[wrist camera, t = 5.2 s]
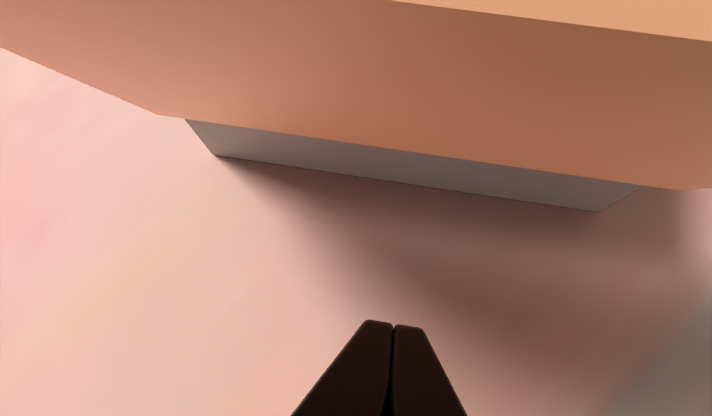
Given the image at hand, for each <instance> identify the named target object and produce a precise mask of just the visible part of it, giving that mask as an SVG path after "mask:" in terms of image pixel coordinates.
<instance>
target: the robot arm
mask: <svg viewBox="0 0 712 416" xmlns="http://www.w3.org/2000/svg"><path fill="white" fill-rule="evenodd" d="M291 416H467V414H466V412H465V410H464V408H463V406H462V404H461V402H460V400H459V398H458V396H457V395H456V393H455V391H454V389H453V387H452V385H451V383H450V381H449V379H448V377H447V375H446V373H445V371H444V369H443V367H442V365H441V364H440V362H439V360H438V358H437V356H436V354H435V352H434V350H433V348H432V346H431V344H430V342H429V340H428V338H427V336H426V334H425V333H424V331H423V330H422V329H421V328H418V327H412V326H406V325H400V324H399V325H396V326H395V327H394V329H393V326H392V324H391V323H388V322H382V321H376V320H366V321H365V322H363V324H362V325H361V326H360V327H359V329H358V330H357V331H356V332H355V334H354V335H353V336H352V338H351V339H350V340H349V341H348V343H347V344H346V345H345V347H344V348H343V349H342V350H341V352H340V353H339V354H338V356H337V357H336V358H335V359H334V361H333V362H332V363H331V364H330V366H329V367H328V368H327V370H326V371H325V372H324V373H323V375H322V376H321V377H320V379H319V380H318V381H317V382H316V384H315V385H314V386H313V388H312V389H311V390H310V391H309V393H308V394H307V395H306V397H305V398H304V399H303V400H302V402H301V403H300V404H299V405H298V407H297V408H296V409H295V411H294V412H293V413H292V414H291Z"/></svg>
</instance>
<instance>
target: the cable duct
mask: <svg viewBox="0 0 712 416" xmlns="http://www.w3.org/2000/svg"><path fill="white" fill-rule="evenodd" d="M185 120H186V121H187V123H188V124H189V125H190V126H191V128H192V129H193V130H194V131H195V133H196V134H197V135H198V137H199V138H200V139H201V140H202V142H203V143H204V144H205V145H206V147H207V148H208V149H209V150H210V152H211V153H212V154H213V155H218V156H225V157H232V158H238V159H245V160H252V161H259V162H265V163H272V164H279V165H285V166H292V167H299V168H305V169H312V170H319V171H325V172H332V173H339V174H346V175H352V176H359V177H366V178H372V179H379V180H386V181H392V182H399V183H406V184H412V185H419V186H426V187H432V188H439V189H446V190H453V191H459V192H466V193H473V194H479V195H486V196H493V197H499V198H506V199H513V200H519V201H526V202H533V203H539V204H546V205H553V206H560V207H566V208H573V209H580V210H586V211H593V212H599V211H601V210H603V209H605V208H606V207H608V206H610V205H612V204H613V203H615V202H617V201H618V200H620V199H622V198H624V197H625V196H627V195H629V194H631V193H632V192H634V191H636V190H637V189H639V188H641V187H643V186H644V185H637V184H630V183H623V182H616V181H609V180H602V179H596V178H589V177H582V176H575V175H568V174H561V173H554V172H547V171H541V170H534V169H527V168H520V167H513V166H506V165H499V164H492V163H486V162H479V161H472V160H465V159H458V158H451V157H444V156H438V155H431V154H424V153H417V152H410V151H403V150H396V149H389V148H383V147H376V146H369V145H362V144H355V143H348V142H341V141H334V140H328V139H321V138H314V137H307V136H300V135H293V134H286V133H280V132H273V131H266V130H259V129H252V128H245V127H238V126H231V125H225V124H218V123H211V122H204V121H197V120H190V119H185Z"/></svg>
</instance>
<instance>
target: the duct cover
mask: <svg viewBox="0 0 712 416" xmlns="http://www.w3.org/2000/svg"><path fill="white" fill-rule="evenodd" d="M0 47H1V48H3V49H6V50H8V51H10V52H13V53H15V54H17V55H20V56H22V57H24V58H27V59H29V60H31V61H34V62H36V63H38V64H41V65H43V66H45V67H48V68H50V69H52V70H55V71H57V72H59V73H62V74H64V75H66V76H69V77H71V78H73V79H76V80H78V81H80V82H83V83H85V84H87V85H90V86H92V87H94V88H97V89H99V90H101V91H104V92H106V93H108V94H111V95H113V96H115V97H118V98H120V99H122V100H125V101H127V102H129V103H132V104H134V105H136V106H139V107H141V108H143V109H146V110H148V111H150V112H153V113H155V114H157V115H163V116H170V117H176V118H183V119H190V120H197V121H204V122H211V123H218V124H225V125H231V126H238V127H245V128H252V129H259V130H266V131H273V132H280V133H286V134H293V135H300V136H307V137H314V138H321V139H328V140H334V141H341V142H348V143H355V144H362V145H369V146H376V147H383V148H389V149H396V150H403V151H410V152H417V153H424V154H431V155H438V156H444V157H451V158H458V159H465V160H472V161H479V162H486V163H492V164H499V165H506V166H513V167H520V168H527V169H534V170H541V171H547V172H554V173H561V174H568V175H575V176H582V177H589V178H596V179H602V180H609V181H616V182H623V183H630V184H637V185H644V186H650V187H657V188H664V189H671V190H688V189H701V188H712V0H0Z"/></svg>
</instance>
